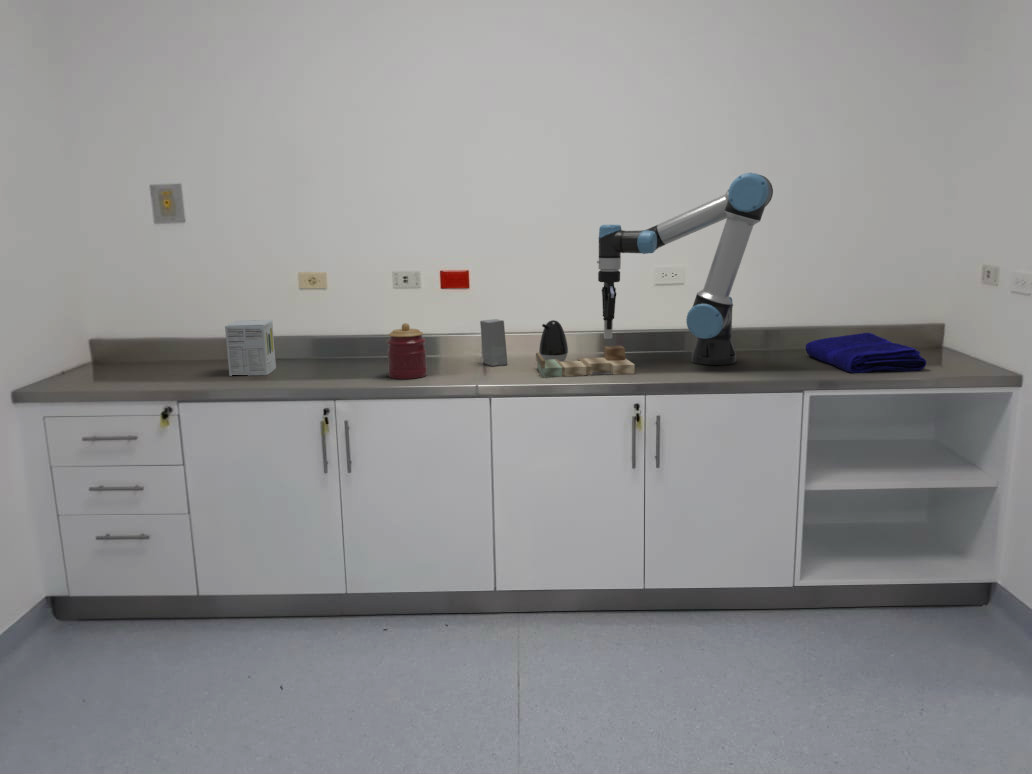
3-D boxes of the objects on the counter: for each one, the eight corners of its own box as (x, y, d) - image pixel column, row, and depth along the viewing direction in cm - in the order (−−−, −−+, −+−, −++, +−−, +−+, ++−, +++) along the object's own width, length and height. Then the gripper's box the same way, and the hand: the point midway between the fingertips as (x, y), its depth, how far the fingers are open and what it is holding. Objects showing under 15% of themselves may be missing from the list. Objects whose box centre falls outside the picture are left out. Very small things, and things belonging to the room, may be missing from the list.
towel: (849, 375, 261) (850, 347, 260) (801, 356, 296) (802, 332, 294) (928, 372, 263) (930, 345, 262) (871, 354, 298) (873, 330, 296)
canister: (429, 372, 280) (427, 320, 277) (424, 379, 268) (422, 325, 264) (391, 372, 281) (389, 321, 277) (385, 380, 268) (382, 326, 265)
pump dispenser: (533, 363, 293) (532, 320, 290) (553, 359, 300) (552, 317, 297) (553, 366, 285) (553, 322, 282) (574, 362, 292) (573, 319, 289)
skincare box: (507, 365, 290) (506, 320, 287) (488, 366, 287) (487, 321, 284) (499, 361, 298) (498, 317, 295) (480, 363, 295) (479, 319, 292)
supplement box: (268, 375, 281) (263, 324, 277) (228, 376, 280) (224, 325, 276) (277, 368, 294) (273, 319, 290) (239, 369, 293) (235, 320, 289)
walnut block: (621, 357, 284) (621, 345, 283) (625, 359, 278) (625, 348, 277) (603, 357, 283) (603, 346, 282) (607, 360, 277) (607, 348, 277)
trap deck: (623, 365, 285) (623, 349, 284) (634, 373, 269) (634, 357, 268) (536, 368, 282) (535, 352, 281) (542, 377, 267) (541, 360, 265)
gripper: (594, 269, 289) (593, 335, 294) (602, 271, 276) (601, 341, 281) (615, 268, 290) (614, 335, 295) (624, 271, 277) (622, 340, 282)
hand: (608, 338), depth 288 cm, fingers closed
